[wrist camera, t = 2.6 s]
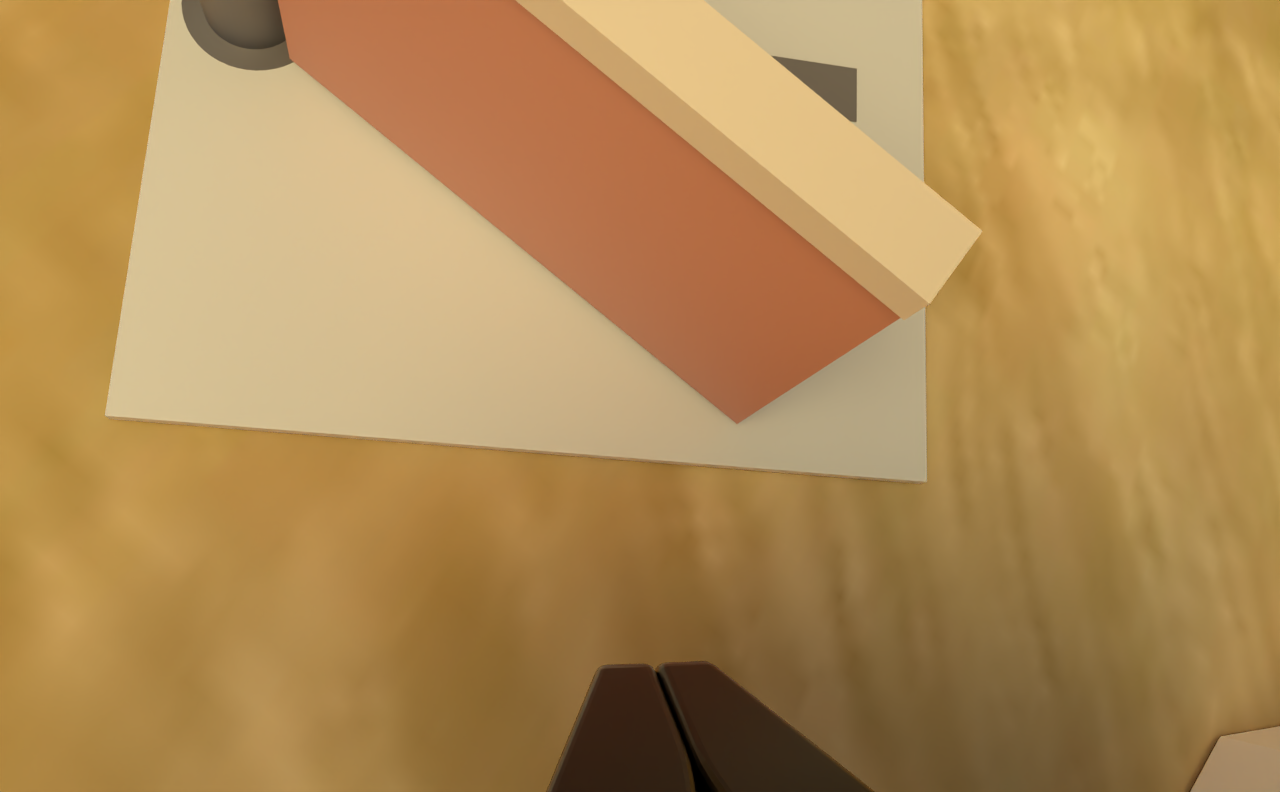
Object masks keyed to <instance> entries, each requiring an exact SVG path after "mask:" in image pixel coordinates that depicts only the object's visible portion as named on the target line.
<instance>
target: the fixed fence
mask: <svg viewBox="0 0 1280 792" xmlns="http://www.w3.org/2000/svg"><path fill="white" fill-rule="evenodd" d="M200 3H201V6H202V9H203V12H204V15H205V17H206V20H207V22H208V24H209V26H210V27H211V28H212V30H213V31H214V32H215V33H216V34H217V35H218V36H219V37H221V38H222V39H223V40H225V41H227V42H228V43H230V44H232V45H235V46H238V47H241V48H246V49H266V48H270V47H274V46H276V45H279V44H281V43H282V42H284V41H286V38H285V33H284V28H283V23H282V19H281V14H280V9H279V4H278V0H200Z"/></svg>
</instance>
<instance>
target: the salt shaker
mask: <svg viewBox="0 0 1280 792" xmlns="http://www.w3.org/2000/svg"><path fill="white" fill-rule="evenodd" d="M1190 792H1280V726H1278V727H1273V728H1267V729H1261V730H1255V731H1249V732H1243V733H1238V734H1232V735H1226V736H1221V737H1220V738H1219V740H1218V741H1217V743H1216V745H1215V747H1214V749H1213V750H1212V752H1211V754H1210V756H1209V758H1208V760H1207V762H1206V763H1205V765H1204V767H1203V769H1202V771H1201V773H1200V775H1199V776H1198V778H1197V780H1196V782H1195V784H1194V786H1193V787H1192V789H1191V791H1190Z"/></svg>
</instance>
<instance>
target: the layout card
mask: <svg viewBox="0 0 1280 792" xmlns="http://www.w3.org/2000/svg"><path fill="white" fill-rule="evenodd" d="M704 1H705V2H706V3H708V4H709V5H710V6H711V7H713V8H714V9H715V10H716V11H717V12H719V13H720V14H721V15H722V16H723V17H725V18H726V19H727V20H728V21H729V22H731V23H732V24H733V25H734V26H735V27H737V28H738V29H739V30H740V31H741V32H743V33H744V34H745V35H746V36H748V37H749V38H750V39H751V40H752V41H754V42H755V43H756V44H757V45H758V46H760V47H761V48H762V49H763V50H764V51H766V52H767V53H768V54H769V55H770V56H772V57H773V58H774V59H775V60H777V61H778V62H779V63H780V64H781V65H783V66H784V67H785V68H786V69H787V70H789V71H790V72H791V73H792V74H793V75H795V76H796V77H797V78H798V79H799V80H801V81H802V82H803V83H804V84H805V85H807V86H808V87H809V88H810V89H812V90H813V91H814V92H815V93H816V94H818V95H819V96H820V97H821V98H822V99H824V100H825V101H826V102H827V103H828V104H830V105H831V106H832V107H833V108H834V109H836V110H837V111H838V112H839V113H841V114H842V115H843V116H844V117H845V118H847V119H848V120H849V121H850V122H851V123H853V124H854V125H855V126H856V127H857V128H859V129H860V130H861V131H862V132H863V133H865V134H866V135H867V136H868V137H869V138H871V139H872V140H873V141H874V142H876V143H877V144H878V145H879V146H880V147H882V148H883V149H884V150H885V151H886V152H888V153H889V154H890V155H891V156H892V157H894V158H895V159H896V160H897V161H898V162H900V163H901V164H902V165H903V166H905V167H906V168H907V169H908V170H909V171H911V172H912V173H913V174H914V175H915V176H917V177H918V178H919V179H920V180H921V181H923V182H924V139H923V41H922V0H704ZM105 416H106V417H107V418H109V419H116V420H128V421H141V422H153V423H166V424H178V425H191V426H203V427H216V428H228V429H241V430H253V431H266V432H278V433H291V434H303V435H316V436H328V437H341V438H353V439H366V440H378V441H391V442H403V443H416V444H428V445H441V446H453V447H466V448H478V449H491V450H503V451H515V452H528V453H540V454H553V455H565V456H578V457H590V458H603V459H615V460H628V461H640V462H653V463H665V464H678V465H690V466H703V467H715V468H728V469H740V470H753V471H765V472H778V473H790V474H803V475H815V476H828V477H840V478H853V479H865V480H878V481H890V482H903V483H915V484H922V483H925V482H927V432H926V334H925V307H924V308H923V309H921V310H919V311H918V312H916V313H915V314H913V315H912V316H910V317H908V318H907V319H905V320H903V319H902V318H900V319H898V320H897V321H895V322H893V323H892V324H890V325H889V326H887V327H886V328H884V329H883V330H881V331H880V332H878V333H877V334H875V335H873V336H872V337H870V338H869V339H867V340H866V341H864V342H863V343H861V344H860V345H858V346H857V347H855V348H853V349H852V350H850V351H849V352H847V353H846V354H844V355H843V356H841V357H840V358H838V359H836V360H835V361H833V362H832V363H830V364H829V365H827V366H826V367H824V368H823V369H821V370H820V371H818V372H816V373H815V374H813V375H812V376H810V377H809V378H807V379H806V380H804V381H803V382H801V383H800V384H798V385H796V386H795V387H793V388H792V389H790V390H789V391H787V392H786V393H784V394H783V395H781V396H779V397H778V398H776V399H775V400H773V401H772V402H770V403H769V404H767V405H766V406H764V407H763V408H761V409H759V410H758V411H756V412H755V413H753V414H752V415H750V416H749V417H747V418H746V419H744V420H743V421H741V422H739V423H738V424H736V423H735V422H734V421H733V420H731V419H730V418H729V417H728V416H727V415H725V414H724V413H723V412H722V411H720V410H719V409H718V408H717V407H716V406H714V405H713V404H712V403H711V402H709V401H708V400H707V399H706V398H705V397H703V396H702V395H701V394H700V393H698V392H697V391H696V390H695V389H694V388H692V387H691V386H690V385H689V384H687V383H686V382H685V381H684V380H683V379H681V378H680V377H679V376H678V375H676V374H675V373H674V372H673V371H671V370H670V369H669V368H668V367H667V366H665V365H664V364H663V363H662V362H660V361H659V360H658V359H657V358H656V357H654V356H653V355H652V354H651V353H649V352H648V351H647V350H646V349H645V348H643V347H642V346H641V345H640V344H638V343H637V342H636V341H635V340H634V339H632V338H631V337H630V336H629V335H627V334H626V333H625V332H624V331H623V330H621V329H620V328H619V327H618V326H616V325H615V324H614V323H613V322H612V321H610V320H609V319H608V318H607V317H605V316H604V315H603V314H602V313H600V312H599V311H598V310H597V309H596V308H594V307H593V306H592V305H591V304H589V303H588V302H587V301H586V300H585V299H583V298H582V297H581V296H580V295H578V294H577V293H576V292H575V291H574V290H572V289H571V288H570V287H569V286H567V285H566V284H565V283H564V282H563V281H561V280H560V279H559V278H558V277H556V276H555V275H554V274H553V273H552V272H550V271H549V270H548V269H547V268H545V267H544V266H543V265H542V264H541V263H539V262H538V261H537V260H536V259H534V258H533V257H532V256H531V255H529V254H528V253H527V252H526V251H525V250H523V249H522V248H521V247H520V246H518V245H517V244H516V243H515V242H514V241H512V240H511V239H510V238H509V237H507V236H506V235H505V234H504V233H503V232H501V231H500V230H499V229H498V228H496V227H495V226H494V225H493V224H492V223H490V222H489V221H488V220H487V219H485V218H484V217H483V216H482V215H481V214H479V213H478V212H477V211H476V210H474V209H473V208H472V207H471V206H470V205H468V204H467V203H466V202H465V201H463V200H462V199H461V198H460V197H458V196H457V195H456V194H455V193H454V192H452V191H451V190H450V189H449V188H447V187H446V186H445V185H444V184H443V183H441V182H440V181H439V180H438V179H436V178H435V177H434V176H433V175H432V174H430V173H429V172H428V171H427V170H425V169H424V168H423V167H422V166H421V165H419V164H418V163H417V162H416V161H414V160H413V159H412V158H411V157H410V156H408V155H407V154H406V153H405V152H403V151H402V150H401V149H400V148H399V147H397V146H396V145H395V144H394V143H392V142H391V141H390V140H389V139H387V138H386V137H385V136H384V135H383V134H381V133H380V132H379V131H378V130H376V129H375V128H374V127H373V126H372V125H370V124H369V123H368V122H367V121H365V120H364V119H363V118H362V117H361V116H359V115H358V114H357V113H356V112H354V111H353V110H352V109H351V108H350V107H348V106H347V105H346V104H345V103H343V102H342V101H341V100H340V99H339V98H337V97H336V96H335V95H334V94H332V93H331V92H330V91H329V90H328V89H326V88H325V87H324V86H323V85H321V84H320V83H319V82H318V81H316V80H315V79H314V78H313V77H312V76H310V75H309V74H308V73H307V72H305V71H304V70H303V69H302V68H301V67H299V66H298V65H297V64H296V63H294V62H293V61H292V60H291V59H290V57H289V53H288V48H287V43H286V41H284V42H282V43H281V44H279V45H276V46H274V47H270V48H266V49H246V48H241V47H238V46H235V45H232V44H230V43H228V42H227V41H225V40H223V39H222V38H221V37H219V36H218V35H217V34H216V33H215V32H214V31H213V30H212V28H211V27H210V26H209V24H208V22H207V20H206V17H205V15H204V12H203V9H202V6H201V3H200V0H170V5H169V11H168V18H167V24H166V30H165V37H164V43H163V49H162V56H161V62H160V69H159V75H158V81H157V88H156V94H155V100H154V107H153V113H152V119H151V126H150V132H149V139H148V145H147V151H146V158H145V164H144V170H143V177H142V183H141V189H140V196H139V202H138V209H137V215H136V221H135V228H134V234H133V240H132V247H131V253H130V259H129V266H128V272H127V278H126V285H125V291H124V298H123V304H122V310H121V317H120V323H119V329H118V336H117V342H116V348H115V355H114V361H113V368H112V374H111V380H110V387H109V393H108V399H107V406H106V412H105Z"/></svg>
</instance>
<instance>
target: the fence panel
mask: <svg viewBox="0 0 1280 792" xmlns="http://www.w3.org/2000/svg"><path fill="white" fill-rule="evenodd" d="M278 4H279V9H280V14H281V19H282V23H283V28H284V33H285V38H286V43H287V48H288V53H289V57H290V59H291V60H292V61H293V62H294V63H296V64H297V65H298V66H299V67H301V68H302V69H303V70H304V71H305V72H307V73H308V74H309V75H310V76H312V77H313V78H314V79H315V80H316V81H318V82H319V83H320V84H321V85H323V86H324V87H325V88H326V89H328V90H329V91H330V92H331V93H332V94H334V95H335V96H336V97H337V98H339V99H340V100H341V101H342V102H343V103H345V104H346V105H347V106H348V107H350V108H351V109H352V110H353V111H354V112H356V113H357V114H358V115H359V116H361V117H362V118H363V119H364V120H365V121H367V122H368V123H369V124H370V125H372V126H373V127H374V128H375V129H376V130H378V131H379V132H380V133H381V134H383V135H384V136H385V137H386V138H387V139H389V140H390V141H391V142H392V143H394V144H395V145H396V146H397V147H399V148H400V149H401V150H402V151H403V152H405V153H406V154H407V155H408V156H410V157H411V158H412V159H413V160H414V161H416V162H417V163H418V164H419V165H421V166H422V167H423V168H424V169H425V170H427V171H428V172H429V173H430V174H432V175H433V176H434V177H435V178H436V179H438V180H439V181H440V182H441V183H443V184H444V185H445V186H446V187H447V188H449V189H450V190H451V191H452V192H454V193H455V194H456V195H457V196H458V197H460V198H461V199H462V200H463V201H465V202H466V203H467V204H468V205H470V206H471V207H472V208H473V209H474V210H476V211H477V212H478V213H479V214H481V215H482V216H483V217H484V218H485V219H487V220H488V221H489V222H490V223H492V224H493V225H494V226H495V227H496V228H498V229H499V230H500V231H501V232H503V233H504V234H505V235H506V236H507V237H509V238H510V239H511V240H512V241H514V242H515V243H516V244H517V245H518V246H520V247H521V248H522V249H523V250H525V251H526V252H527V253H528V254H529V255H531V256H532V257H533V258H534V259H536V260H537V261H538V262H539V263H541V264H542V265H543V266H544V267H545V268H547V269H548V270H549V271H550V272H552V273H553V274H554V275H555V276H556V277H558V278H559V279H560V280H561V281H563V282H564V283H565V284H566V285H567V286H569V287H570V288H571V289H572V290H574V291H575V292H576V293H577V294H578V295H580V296H581V297H582V298H583V299H585V300H586V301H587V302H588V303H589V304H591V305H592V306H593V307H594V308H596V309H597V310H598V311H599V312H600V313H602V314H603V315H604V316H605V317H607V318H608V319H609V320H610V321H612V322H613V323H614V324H615V325H616V326H618V327H619V328H620V329H621V330H623V331H624V332H625V333H626V334H627V335H629V336H630V337H631V338H632V339H634V340H635V341H636V342H637V343H638V344H640V345H641V346H642V347H643V348H645V349H646V350H647V351H648V352H649V353H651V354H652V355H653V356H654V357H656V358H657V359H658V360H659V361H660V362H662V363H663V364H664V365H665V366H667V367H668V368H669V369H670V370H671V371H673V372H674V373H675V374H676V375H678V376H679V377H680V378H681V379H683V380H684V381H685V382H686V383H687V384H689V385H690V386H691V387H692V388H694V389H695V390H696V391H697V392H698V393H700V394H701V395H702V396H703V397H705V398H706V399H707V400H708V401H709V402H711V403H712V404H713V405H714V406H716V407H717V408H718V409H719V410H720V411H722V412H723V413H724V414H725V415H727V416H728V417H729V418H730V419H731V420H733V421H734V422H735V423H736V424H738V423H739V422H741V421H743V420H744V419H746V418H747V417H749V416H750V415H752V414H753V413H755V412H756V411H758V410H759V409H761V408H763V407H764V406H766V405H767V404H769V403H770V402H772V401H773V400H775V399H776V398H778V397H779V396H781V395H783V394H784V393H786V392H787V391H789V390H790V389H792V388H793V387H795V386H796V385H798V384H800V383H801V382H803V381H804V380H806V379H807V378H809V377H810V376H812V375H813V374H815V373H816V372H818V371H820V370H821V369H823V368H824V367H826V366H827V365H829V364H830V363H832V362H833V361H835V360H836V359H838V358H840V357H841V356H843V355H844V354H846V353H847V352H849V351H850V350H852V349H853V348H855V347H857V346H858V345H860V344H861V343H863V342H864V341H866V340H867V339H869V338H870V337H872V336H873V335H875V334H877V333H878V332H880V331H881V330H883V329H884V328H886V327H887V326H889V325H890V324H892V323H893V322H895V321H897V320H898V319H900V318H902V319H903V320H905V319H907V318H908V317H910V316H912V315H913V314H915V313H916V312H918V311H919V310H921V309H923V308H924V307H926V306H927V305H929V304H930V303H931V301H932V300H933V299H934V297H935V296H936V295H937V293H938V292H939V290H940V289H941V288H942V286H943V285H944V284H945V282H946V281H947V279H948V278H949V277H950V275H951V274H952V273H953V271H954V270H955V268H956V267H957V266H958V264H959V263H960V261H961V260H962V259H963V257H964V256H965V255H966V253H967V252H968V250H969V249H970V248H971V246H972V245H973V244H974V242H975V241H976V239H977V238H978V237H979V235H980V234H981V233H982V230H981V229H979V228H978V227H977V226H976V225H975V224H973V223H972V222H971V221H970V220H969V219H967V218H966V217H965V216H964V215H962V214H961V213H960V212H959V211H958V210H956V209H955V208H954V207H953V206H952V205H950V204H949V203H948V202H947V201H946V200H944V199H943V198H942V197H941V196H940V195H938V194H937V193H936V192H935V191H933V190H932V189H931V188H930V187H929V186H927V185H926V184H925V183H924V182H923V181H921V180H920V179H919V178H918V177H917V176H915V175H914V174H913V173H912V172H911V171H909V170H908V169H907V168H906V167H905V166H903V165H902V164H901V163H900V162H898V161H897V160H896V159H895V158H894V157H892V156H891V155H890V154H889V153H888V152H886V151H885V150H884V149H883V148H882V147H880V146H879V145H878V144H877V143H876V142H874V141H873V140H872V139H871V138H869V137H868V136H867V135H866V134H865V133H863V132H862V131H861V130H860V129H859V128H857V127H856V126H855V125H854V124H853V123H851V122H850V121H849V120H848V119H847V118H845V117H844V116H843V115H842V114H841V113H839V112H838V111H837V110H836V109H834V108H833V107H832V106H831V105H830V104H828V103H827V102H826V101H825V100H824V99H822V98H821V97H820V96H819V95H818V94H816V93H815V92H814V91H813V90H812V89H810V88H809V87H808V86H807V85H805V84H804V83H803V82H802V81H801V80H799V79H798V78H797V77H796V76H795V75H793V74H792V73H791V72H790V71H789V70H787V69H786V68H785V67H784V66H783V65H781V64H780V63H779V62H778V61H777V60H775V59H774V58H773V57H772V56H770V55H769V54H768V53H767V52H766V51H764V50H763V49H762V48H761V47H760V46H758V45H757V44H756V43H755V42H754V41H752V40H751V39H750V38H749V37H748V36H746V35H745V34H744V33H743V32H741V31H740V30H739V29H738V28H737V27H735V26H734V25H733V24H732V23H731V22H729V21H728V20H727V19H726V18H725V17H723V16H722V15H721V14H720V13H719V12H717V11H716V10H715V9H714V8H713V7H711V6H710V5H709V4H708V3H706V2H705V1H704V0H278Z"/></svg>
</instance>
